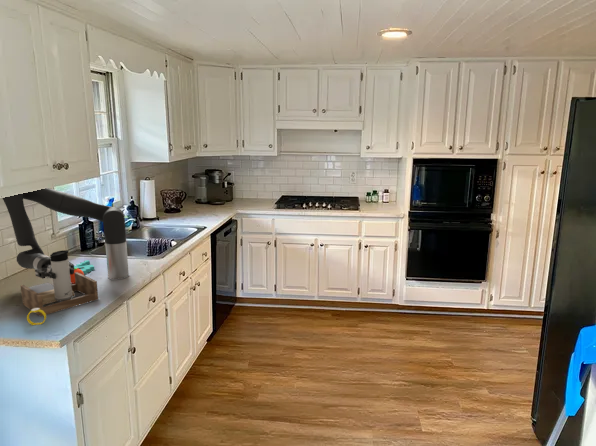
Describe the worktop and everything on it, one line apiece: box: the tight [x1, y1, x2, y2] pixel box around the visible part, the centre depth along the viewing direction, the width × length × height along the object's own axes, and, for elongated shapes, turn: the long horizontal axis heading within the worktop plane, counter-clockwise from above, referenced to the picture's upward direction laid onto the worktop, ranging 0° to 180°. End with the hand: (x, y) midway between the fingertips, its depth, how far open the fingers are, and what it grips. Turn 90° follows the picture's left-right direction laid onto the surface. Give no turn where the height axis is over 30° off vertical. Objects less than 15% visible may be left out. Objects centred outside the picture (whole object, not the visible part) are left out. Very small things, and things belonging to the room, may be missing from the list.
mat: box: [27, 282, 54, 293], centre depth 193 cm, size 11×11×1 cm
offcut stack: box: [38, 289, 76, 306], centre depth 183 cm, size 5×13×4 cm, turn 141°
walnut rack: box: [20, 272, 99, 317], centre depth 179 cm, size 18×22×8 cm
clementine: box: [70, 268, 85, 284], centre depth 201 cm, size 8×7×7 cm
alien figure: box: [74, 259, 95, 275], centre depth 217 cm, size 20×2×20 cm
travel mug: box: [49, 249, 74, 302], centre depth 176 cm, size 6×7×20 cm
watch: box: [26, 308, 47, 326], centre depth 159 cm, size 6×3×6 cm, turn 104°
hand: (63, 274), depth 174 cm, fingers closed on travel mug, 6 cm apart
